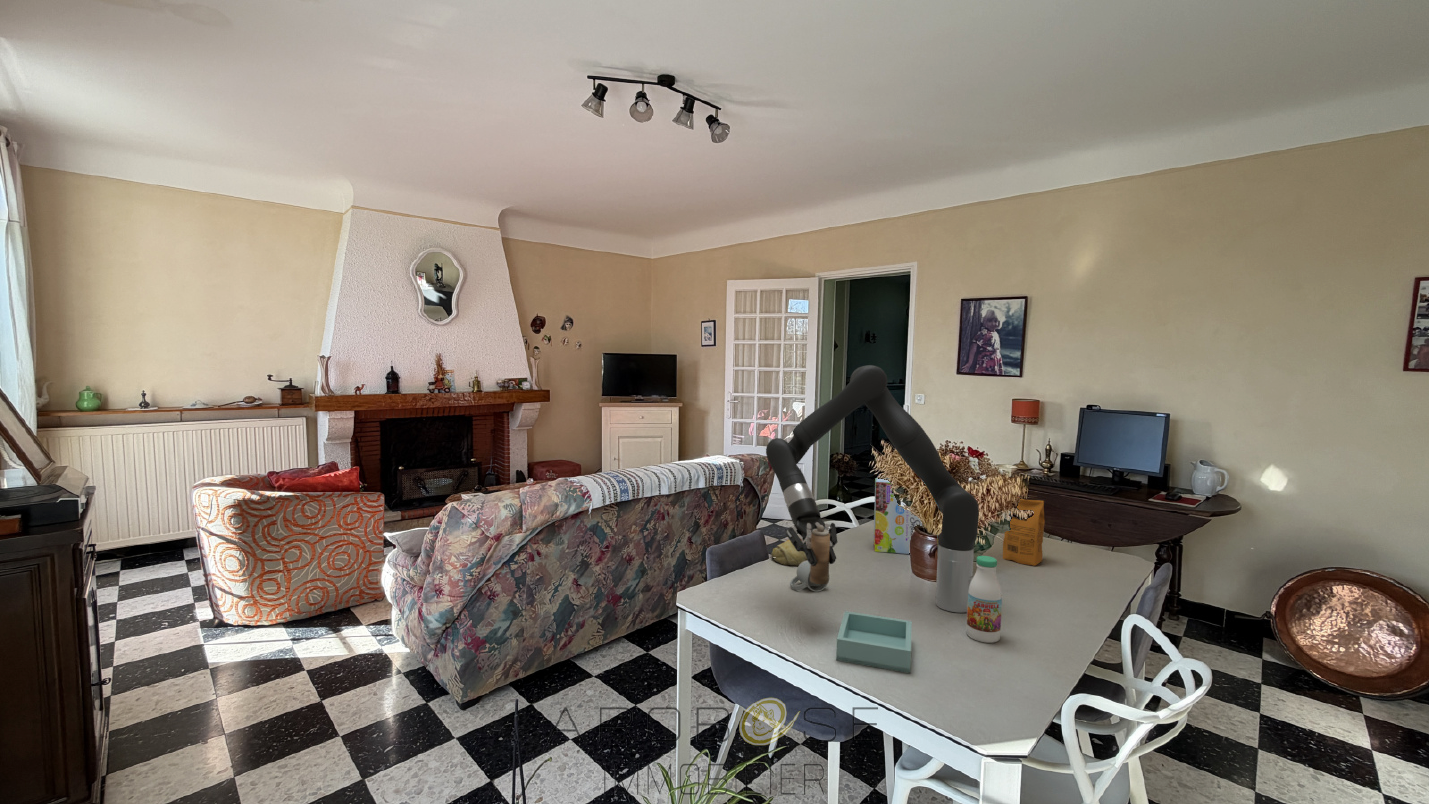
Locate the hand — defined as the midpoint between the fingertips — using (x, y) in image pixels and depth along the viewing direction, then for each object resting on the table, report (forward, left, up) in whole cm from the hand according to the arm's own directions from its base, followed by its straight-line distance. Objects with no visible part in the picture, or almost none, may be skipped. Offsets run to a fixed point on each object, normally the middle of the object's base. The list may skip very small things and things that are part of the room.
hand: (823, 563), depth 147 cm
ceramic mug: (+8, -28, -18) cm, 35 cm away
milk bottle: (-38, -13, -18) cm, 44 cm away
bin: (-13, +4, -18) cm, 23 cm away
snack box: (-18, -76, -18) cm, 80 cm away
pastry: (+17, -50, -18) cm, 56 cm away
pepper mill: (+1, -1, -5) cm, 6 cm away
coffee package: (-57, -81, -18) cm, 100 cm away
